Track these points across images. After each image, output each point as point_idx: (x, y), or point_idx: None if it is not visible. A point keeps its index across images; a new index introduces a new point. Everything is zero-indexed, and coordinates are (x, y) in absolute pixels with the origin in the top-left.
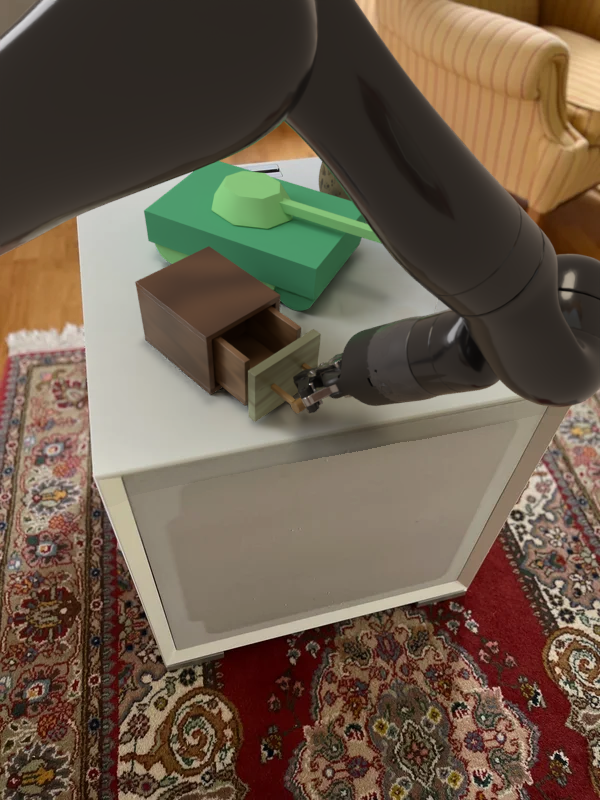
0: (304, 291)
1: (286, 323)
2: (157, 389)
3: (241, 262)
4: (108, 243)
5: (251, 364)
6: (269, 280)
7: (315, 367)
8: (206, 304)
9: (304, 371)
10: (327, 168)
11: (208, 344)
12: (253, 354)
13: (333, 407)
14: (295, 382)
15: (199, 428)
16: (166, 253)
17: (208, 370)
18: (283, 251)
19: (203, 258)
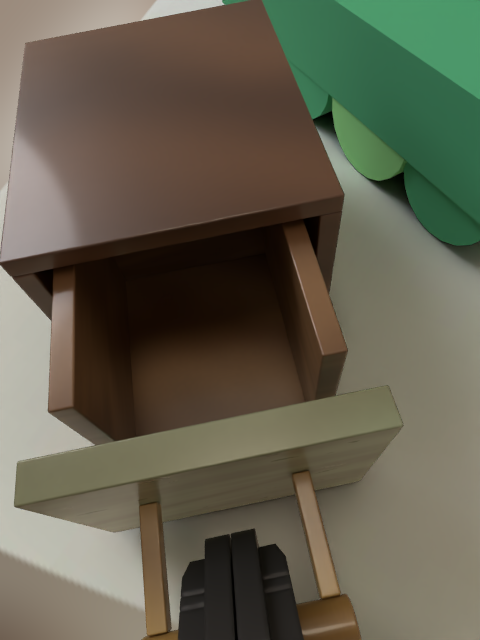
0: (472, 199)
1: (307, 308)
2: (27, 309)
3: (350, 76)
4: (187, 6)
5: (214, 351)
6: (396, 141)
7: (265, 616)
8: (106, 151)
9: (238, 565)
10: None
11: (22, 283)
12: (240, 323)
13: (362, 601)
14: (182, 586)
15: (14, 456)
16: None
17: None
18: (463, 60)
19: (219, 24)
